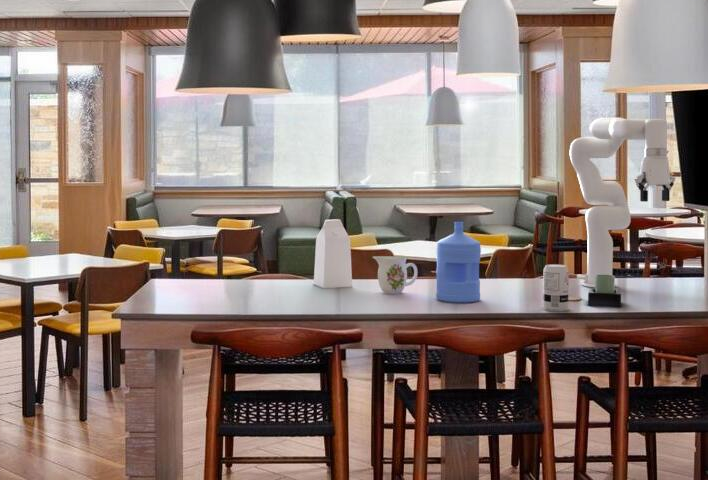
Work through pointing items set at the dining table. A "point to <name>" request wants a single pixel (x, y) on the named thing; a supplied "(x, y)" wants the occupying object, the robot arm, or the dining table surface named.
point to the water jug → (458, 267)
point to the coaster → (573, 298)
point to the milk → (333, 256)
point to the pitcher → (393, 273)
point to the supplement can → (555, 287)
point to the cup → (604, 283)
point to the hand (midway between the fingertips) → (654, 201)
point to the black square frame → (604, 298)
